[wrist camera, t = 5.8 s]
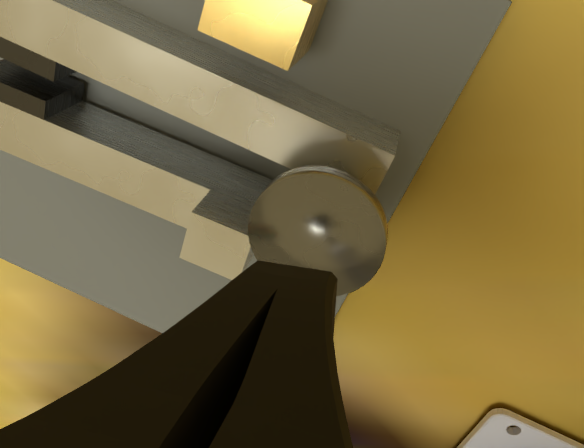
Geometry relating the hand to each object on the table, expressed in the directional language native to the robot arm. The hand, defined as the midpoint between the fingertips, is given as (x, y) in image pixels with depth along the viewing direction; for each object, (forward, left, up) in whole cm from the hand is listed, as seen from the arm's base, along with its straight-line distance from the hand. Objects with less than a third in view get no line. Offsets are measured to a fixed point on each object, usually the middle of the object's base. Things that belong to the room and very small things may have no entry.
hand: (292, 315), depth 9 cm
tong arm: (+5, +2, -8) cm, 10 cm away
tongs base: (+5, +1, -9) cm, 10 cm away
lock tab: (+4, -3, -8) cm, 9 cm away
